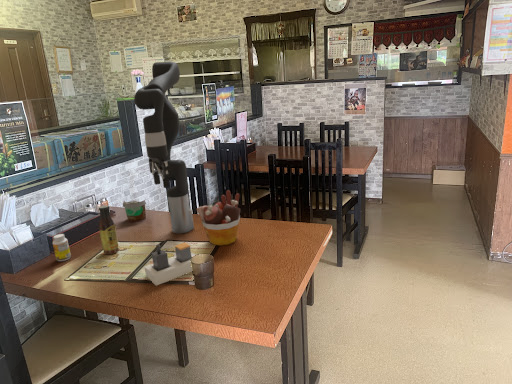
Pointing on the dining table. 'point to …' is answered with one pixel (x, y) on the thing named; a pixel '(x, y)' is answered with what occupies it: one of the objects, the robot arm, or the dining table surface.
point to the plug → (183, 252)
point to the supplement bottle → (61, 247)
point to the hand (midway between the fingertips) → (162, 185)
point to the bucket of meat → (221, 220)
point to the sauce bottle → (107, 231)
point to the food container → (135, 210)
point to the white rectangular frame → (166, 267)
